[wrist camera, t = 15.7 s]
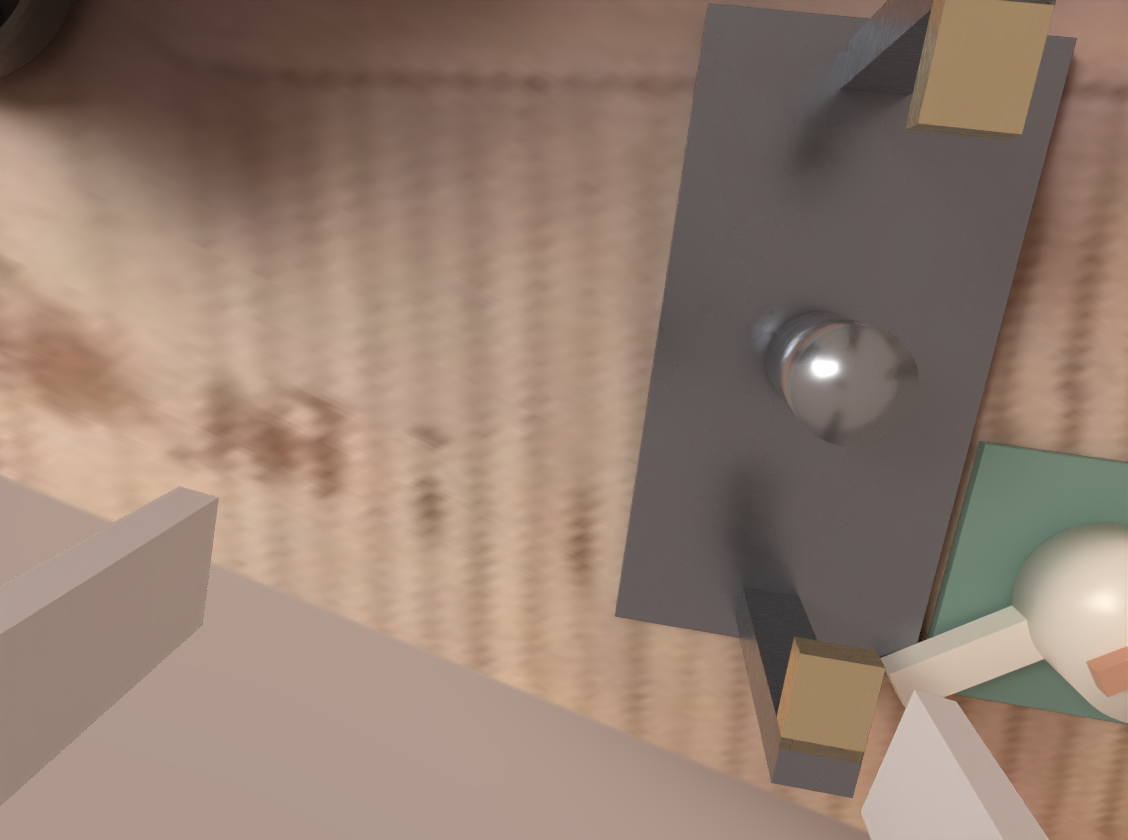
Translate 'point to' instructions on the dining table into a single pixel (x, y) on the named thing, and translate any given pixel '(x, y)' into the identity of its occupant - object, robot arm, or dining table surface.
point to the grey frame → (832, 341)
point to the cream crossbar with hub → (1041, 626)
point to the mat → (1022, 550)
